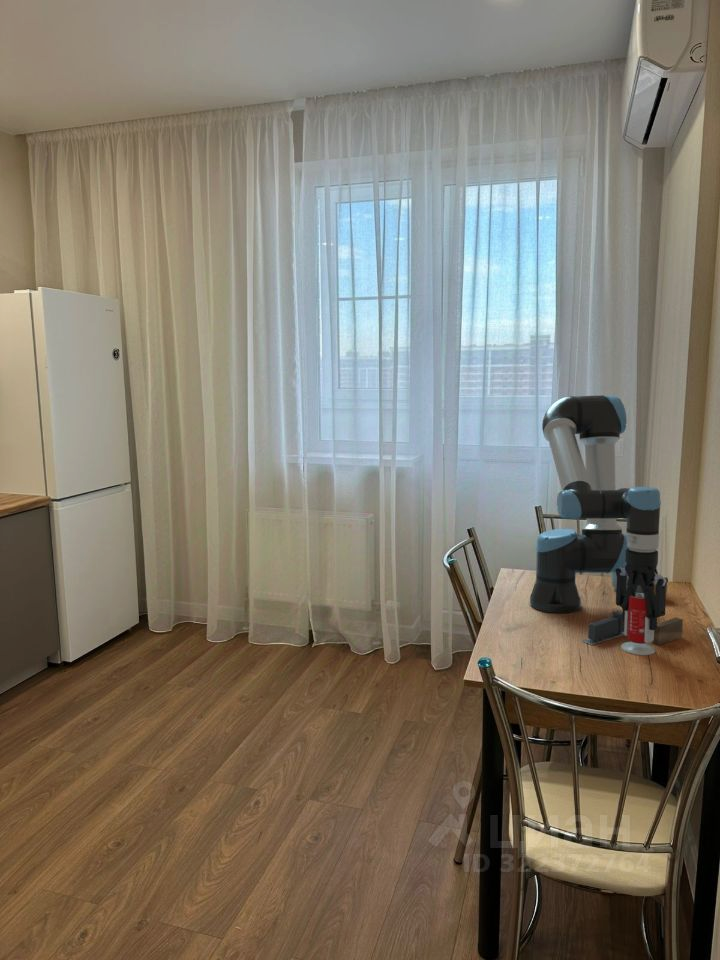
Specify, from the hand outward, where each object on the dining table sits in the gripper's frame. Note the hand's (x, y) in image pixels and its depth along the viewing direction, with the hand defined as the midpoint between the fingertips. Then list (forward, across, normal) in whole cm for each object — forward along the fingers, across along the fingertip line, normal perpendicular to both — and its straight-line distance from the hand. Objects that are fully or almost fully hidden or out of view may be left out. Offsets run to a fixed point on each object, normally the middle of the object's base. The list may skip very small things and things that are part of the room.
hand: (638, 637), depth 170 cm
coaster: (+3, 0, 0) cm, 3 cm away
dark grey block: (+3, -10, 0) cm, 11 cm away
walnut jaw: (+3, 0, +12) cm, 12 cm away
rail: (+3, -10, +5) cm, 12 cm away
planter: (+3, -32, +41) cm, 52 cm away
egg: (+3, -22, +40) cm, 45 cm away
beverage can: (+1, 0, 0) cm, 1 cm away
